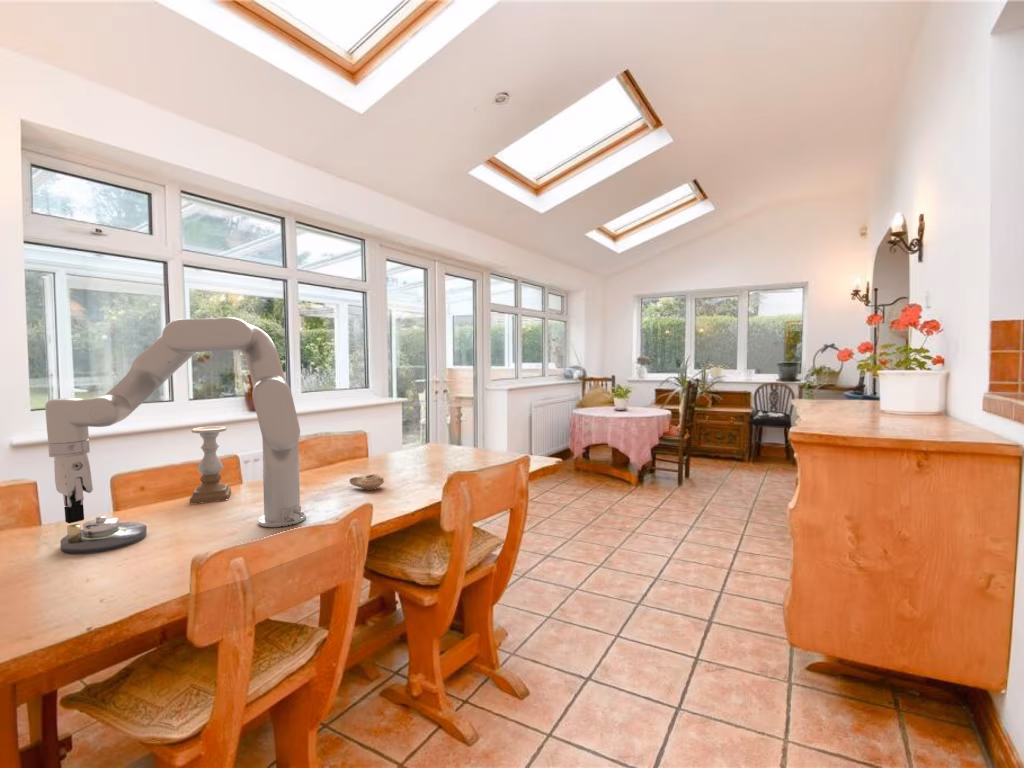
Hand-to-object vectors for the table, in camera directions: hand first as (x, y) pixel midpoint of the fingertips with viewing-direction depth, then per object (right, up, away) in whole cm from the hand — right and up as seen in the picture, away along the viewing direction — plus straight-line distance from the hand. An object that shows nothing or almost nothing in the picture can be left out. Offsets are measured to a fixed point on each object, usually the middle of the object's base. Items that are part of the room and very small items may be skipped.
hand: (75, 521), depth 122 cm
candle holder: (+7, -5, +44) cm, 45 cm away
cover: (+3, -4, +4) cm, 7 cm away
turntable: (+4, -7, +4) cm, 9 cm away
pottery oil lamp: (+56, -4, +57) cm, 80 cm away
